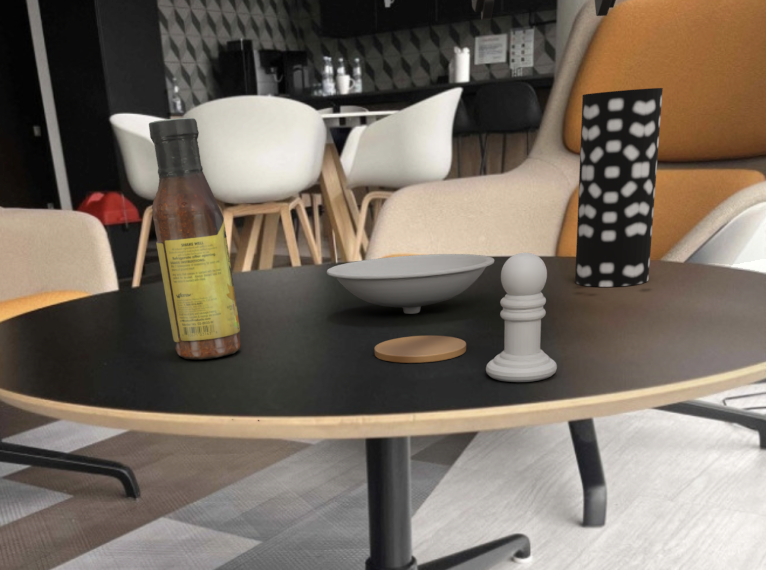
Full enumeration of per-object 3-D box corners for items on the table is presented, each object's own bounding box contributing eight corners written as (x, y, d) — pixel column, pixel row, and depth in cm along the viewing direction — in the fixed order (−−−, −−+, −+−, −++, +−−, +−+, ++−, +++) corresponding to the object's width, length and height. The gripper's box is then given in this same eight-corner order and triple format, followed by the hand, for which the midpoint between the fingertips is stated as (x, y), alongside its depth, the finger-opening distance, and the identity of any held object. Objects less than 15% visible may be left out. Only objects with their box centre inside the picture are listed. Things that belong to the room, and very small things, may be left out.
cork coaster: (475, 342, 78) (475, 335, 78) (454, 364, 72) (453, 356, 71) (390, 341, 81) (390, 335, 81) (362, 362, 74) (361, 355, 74)
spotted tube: (652, 275, 105) (666, 88, 96) (643, 286, 98) (658, 87, 90) (582, 275, 108) (589, 95, 100) (568, 287, 101) (576, 94, 93)
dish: (337, 332, 86) (334, 280, 84) (324, 308, 99) (320, 262, 97) (511, 317, 88) (511, 265, 86) (475, 295, 101) (475, 249, 99)
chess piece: (570, 377, 65) (575, 252, 62) (507, 387, 64) (508, 260, 60) (533, 362, 70) (536, 245, 66) (473, 372, 69) (473, 253, 65)
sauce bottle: (256, 351, 81) (229, 114, 73) (202, 365, 77) (168, 117, 69) (213, 343, 86) (183, 120, 77) (160, 357, 82) (123, 123, 73)
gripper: (444, -211, 64) (454, -33, 60) (638, -219, 64) (661, -41, 60) (436, -112, 72) (445, 52, 68) (610, -119, 71) (629, 46, 67)
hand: (546, 8), depth 64 cm, fingers open, 8 cm apart
